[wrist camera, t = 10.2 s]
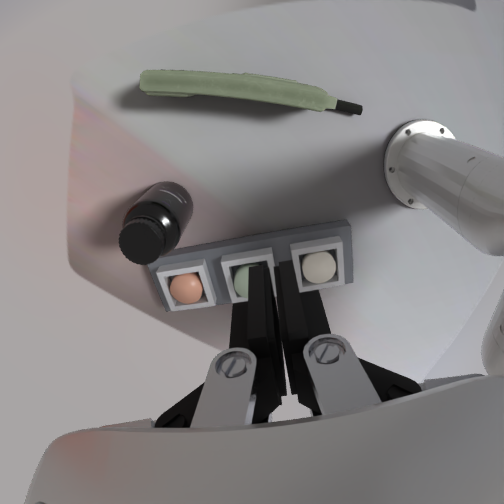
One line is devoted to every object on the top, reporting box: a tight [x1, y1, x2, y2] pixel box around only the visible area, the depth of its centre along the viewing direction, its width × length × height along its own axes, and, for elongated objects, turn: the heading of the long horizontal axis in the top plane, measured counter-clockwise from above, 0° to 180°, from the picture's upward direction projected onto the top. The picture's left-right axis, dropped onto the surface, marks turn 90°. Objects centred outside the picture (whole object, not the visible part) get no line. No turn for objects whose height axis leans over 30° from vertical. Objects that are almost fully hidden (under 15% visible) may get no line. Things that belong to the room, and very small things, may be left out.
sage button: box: [234, 263, 259, 298], centre depth 42 cm, size 4×4×2 cm
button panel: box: [147, 220, 353, 312], centre depth 44 cm, size 28×9×4 cm, turn 101°
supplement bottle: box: [119, 182, 193, 265], centre depth 36 cm, size 7×7×12 cm
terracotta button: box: [170, 272, 203, 304], centre depth 43 cm, size 4×4×2 cm
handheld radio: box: [140, 70, 362, 115], centre depth 32 cm, size 7×3×25 cm
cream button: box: [301, 250, 336, 283], centre depth 42 cm, size 4×4×2 cm
